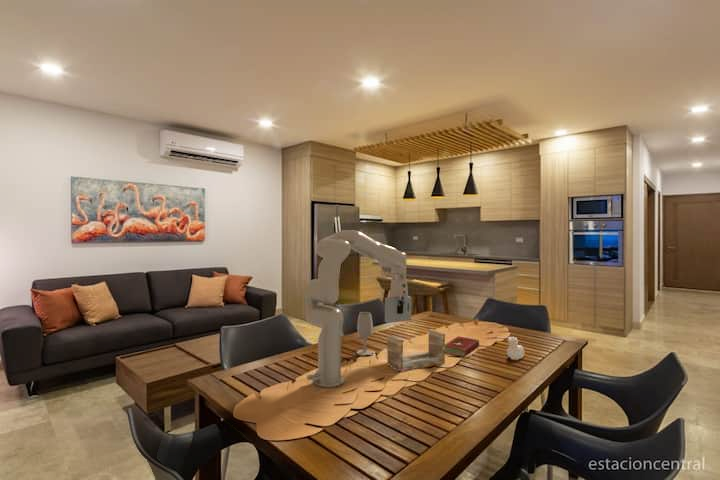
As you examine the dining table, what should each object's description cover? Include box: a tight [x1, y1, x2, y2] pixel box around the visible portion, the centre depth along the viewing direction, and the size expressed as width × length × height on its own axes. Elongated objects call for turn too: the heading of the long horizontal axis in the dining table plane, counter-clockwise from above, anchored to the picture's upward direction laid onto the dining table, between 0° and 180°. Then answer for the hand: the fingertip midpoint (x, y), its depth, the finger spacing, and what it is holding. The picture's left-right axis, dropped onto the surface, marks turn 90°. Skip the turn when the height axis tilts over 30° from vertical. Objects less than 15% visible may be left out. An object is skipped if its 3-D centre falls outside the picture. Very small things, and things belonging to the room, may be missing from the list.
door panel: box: [384, 295, 413, 324], centre depth 190 cm, size 14×4×12 cm, turn 117°
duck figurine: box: [506, 336, 526, 361], centre depth 188 cm, size 12×8×11 cm
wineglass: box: [356, 311, 374, 357], centre depth 193 cm, size 9×9×21 cm
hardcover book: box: [445, 335, 480, 357], centre depth 201 cm, size 12×21×4 cm, turn 144°
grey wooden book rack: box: [387, 328, 446, 372], centre depth 178 cm, size 26×10×14 cm, turn 117°
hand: (398, 312), depth 190 cm, fingers closed on door panel, 3 cm apart
